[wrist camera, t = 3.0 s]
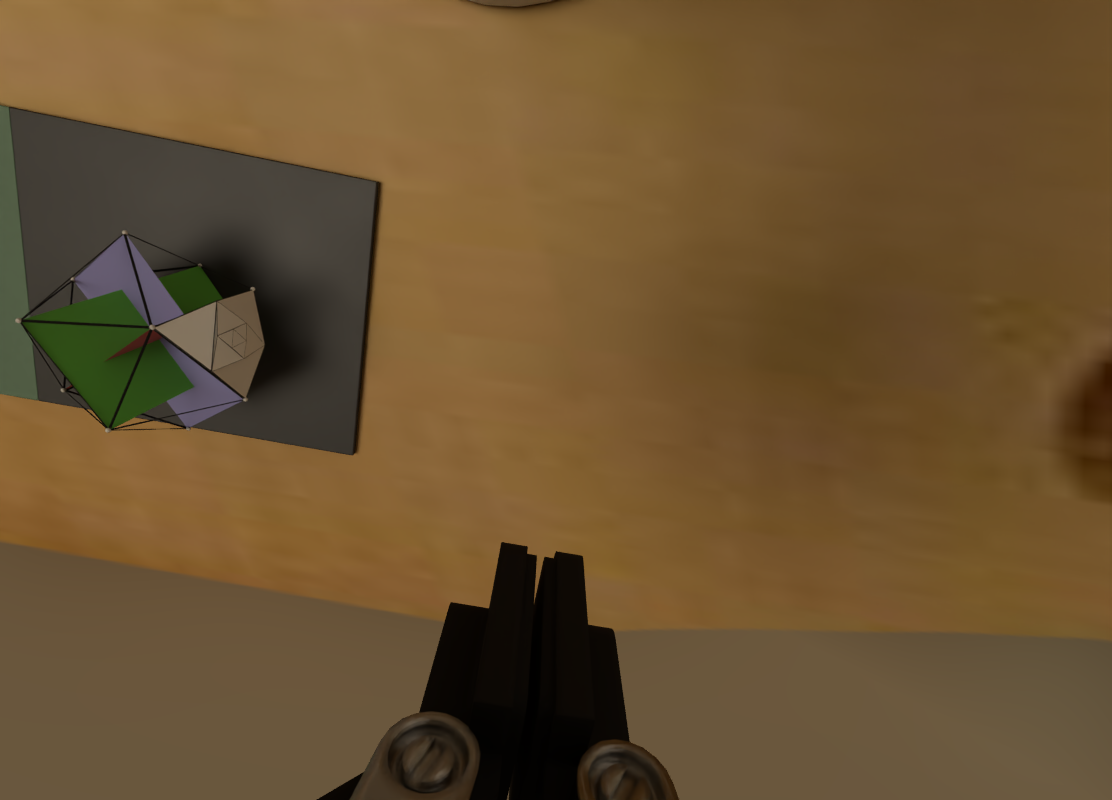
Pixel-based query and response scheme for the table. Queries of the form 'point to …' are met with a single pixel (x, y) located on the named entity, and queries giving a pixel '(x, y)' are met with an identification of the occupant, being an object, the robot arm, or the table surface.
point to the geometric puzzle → (150, 339)
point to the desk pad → (194, 260)
